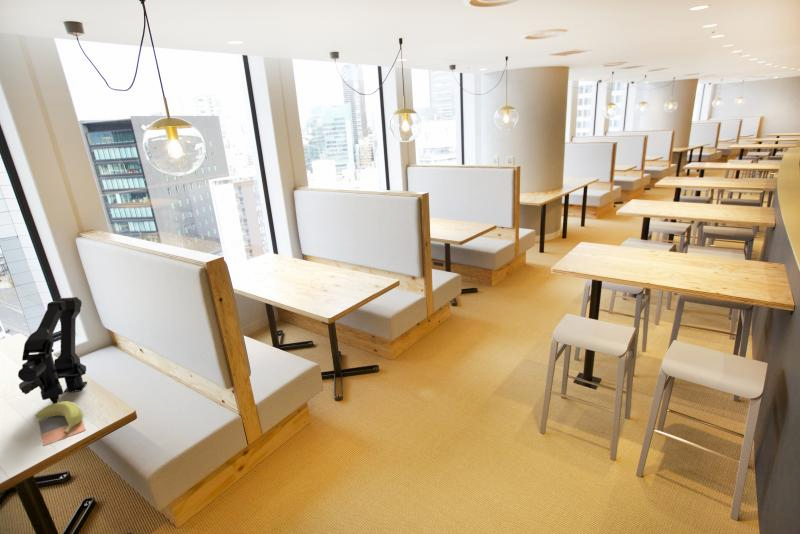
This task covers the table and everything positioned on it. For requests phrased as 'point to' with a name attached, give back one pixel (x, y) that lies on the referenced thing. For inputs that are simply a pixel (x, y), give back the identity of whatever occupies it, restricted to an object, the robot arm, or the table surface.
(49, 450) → the table surface
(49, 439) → the pad
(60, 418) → the mat
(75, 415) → the banana
